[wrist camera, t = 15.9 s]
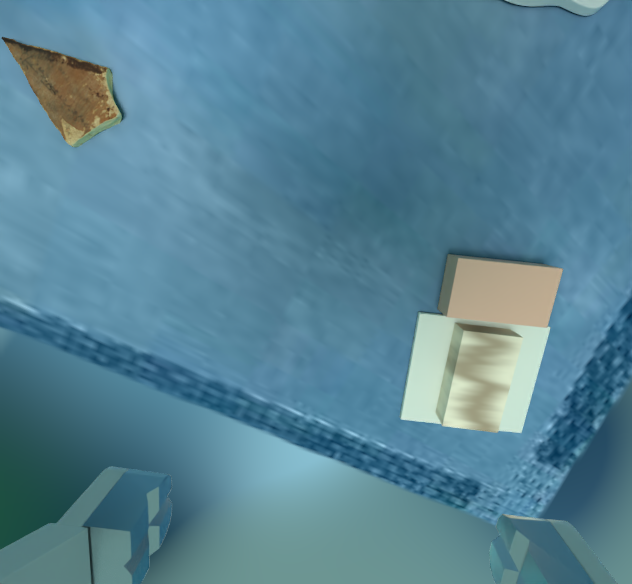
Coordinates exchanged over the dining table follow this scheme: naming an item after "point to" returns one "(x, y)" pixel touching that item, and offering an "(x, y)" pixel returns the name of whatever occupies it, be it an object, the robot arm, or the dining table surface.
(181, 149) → the dining table surface
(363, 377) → the dining table surface
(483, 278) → the terracotta step
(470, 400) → the birch block
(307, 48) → the dining table surface
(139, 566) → the robot arm
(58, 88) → the shard
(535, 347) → the rubber mat
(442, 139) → the dining table surface
